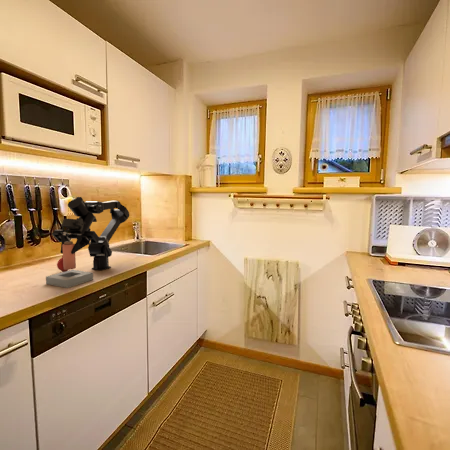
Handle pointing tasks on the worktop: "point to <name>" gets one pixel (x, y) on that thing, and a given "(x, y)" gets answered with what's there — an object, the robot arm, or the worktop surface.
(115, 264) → the worktop surface
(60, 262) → the onion
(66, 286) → the socket board
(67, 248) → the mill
